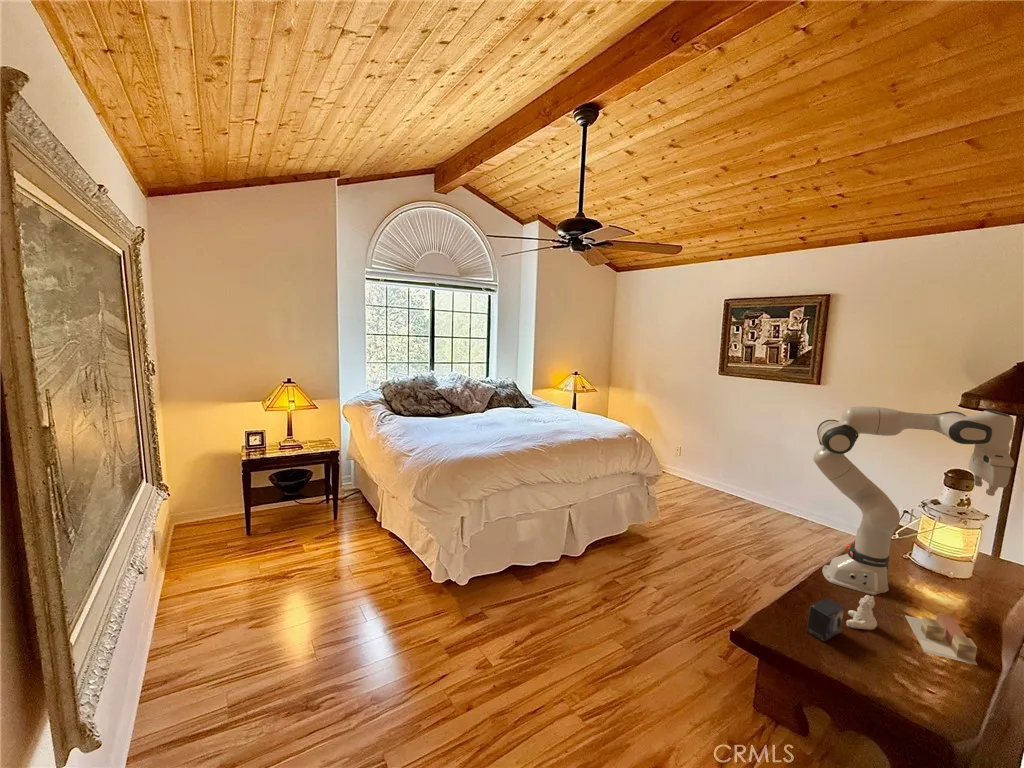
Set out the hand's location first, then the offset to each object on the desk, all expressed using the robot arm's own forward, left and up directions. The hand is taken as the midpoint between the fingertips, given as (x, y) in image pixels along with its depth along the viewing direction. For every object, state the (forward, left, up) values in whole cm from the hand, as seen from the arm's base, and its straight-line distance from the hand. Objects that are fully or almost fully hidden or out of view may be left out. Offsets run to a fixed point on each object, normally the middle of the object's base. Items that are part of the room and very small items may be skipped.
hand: (983, 490), depth 171 cm
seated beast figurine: (-38, -31, -47) cm, 68 cm away
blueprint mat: (-16, -29, -47) cm, 57 cm away
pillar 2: (-12, -35, -46) cm, 59 cm away
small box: (-51, -42, -47) cm, 81 cm away
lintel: (-12, -25, -46) cm, 54 cm away
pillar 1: (-18, -28, -46) cm, 57 cm away
